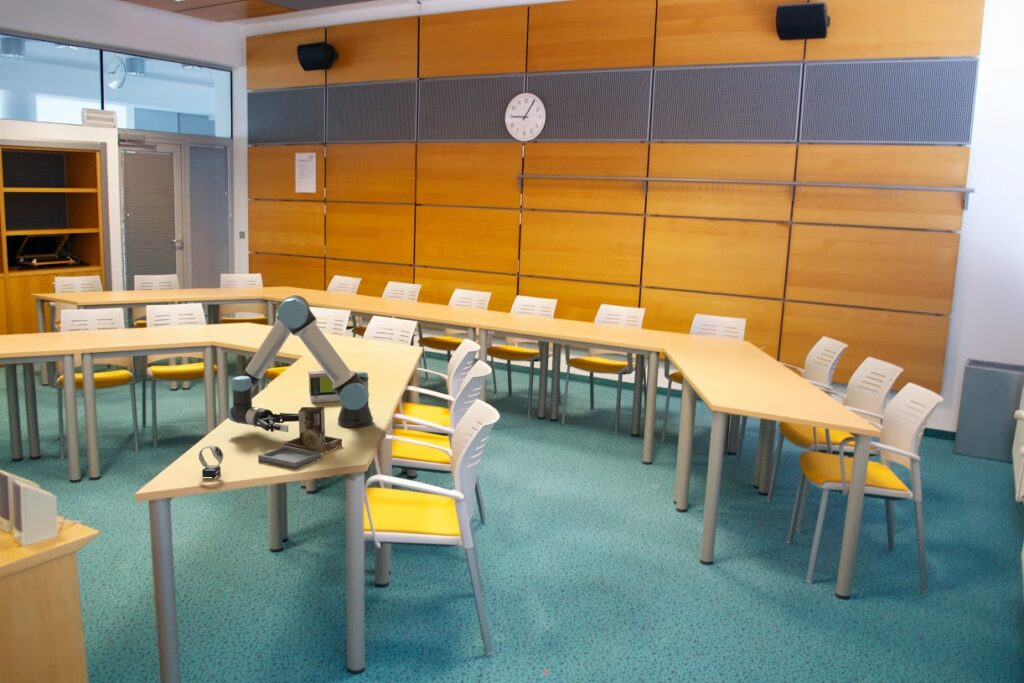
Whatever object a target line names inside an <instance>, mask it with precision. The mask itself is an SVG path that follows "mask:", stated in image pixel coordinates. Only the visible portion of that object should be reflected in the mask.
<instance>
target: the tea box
mask: <svg viewBox="0 0 1024 683" xmlns="http://www.w3.org/2000/svg"><path fill="white" fill-rule="evenodd" d="M332 386H333V382H332V381H331V379H330V378H329V377H328V375H327V374H326V373H325V371H324V370H323V369H311V370H310V369H309V370H308V388H309V389H308V390H309V391H308V392H309V394H308V395H309V399H310V402H311V403H313V402H315V403H323V402H324V403H327V402H341V401H340V398H339V396H338V395H337V394H336V392H335V391H334V389H333V388H332Z"/></svg>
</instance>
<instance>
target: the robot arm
mask: <svg viewBox="0 0 1024 683" xmlns="http://www.w3.org/2000/svg"><path fill="white" fill-rule="evenodd" d="M275 319H276V322H275V323H274V324H273V326H272V328H271V330H270V331H269V332H268V334H266V335H267V336H266V337H265V338H264V340H263V341H262V343H261V345H260V346H259V347H258V349H257V351H256V353H255V354H254V356H253V357H252V358H251V360H250V362H249V363H248V365H247V366H246V367H245V370H244V371H243V373H242V374H241V375H240V376H236V377H235V376H234V377H233V378H232V380H231V389H232V390H231V392H232V394H231V395H232V404H231V405H230V406H229V407H228V411H227V413H226V414H227V418H228V419H229V421H231V422H234V423H236V424H242V425H247V426H254V427H255V428H256V427H259V428H262V429H263V430H265V431H266V432H269V431H270V433H274V431H278V432H284V433H288V432H289V425H288V424H284V423H287V422H288V423H290V422H299V414H298V412H297V413H294V412H293V413H292V412H291V413H290V412H289V413H286V412H279V413H278V414H277V413H273V411H272V410H270V409H269V408H268V409H266V408H262V407H257V406H253V398H252V397H253V396H252V395H253V394H252V393H253V392H254V390H255V389H256V387H257V386H258V384H259V382H261V379H262V377H263V376H264V374H265V373H266V371H267V370H268V368H269V367H270V365H271V364H272V362H273V361H274V359H275V358H276V356H277V355H278V353H279V352H280V350H281V349H282V347H283V345H284V344H285V343H286V341H287V340H288V338H289V336H290V335H291V334H292V336H296V337H298V338H299V339H300V340H301V341H302V343H303V345H305V347H306V348H307V349H308V351H309V352H310V354H311V355H312V356H313V358H314V359H315V361H316V362H317V363H318V365H319V366H320V367H321V369H322V370H324V371H325V373H326V374H327V375H328V377H329V378H330V379H331V381H332V382H333V386H332V388H333V389H334V391H335V392H336V394H337V395H338V396H339V398H340V401H339V402H340V403H341V408H340V410H339V414H338V418H337V425H338V424H339V426H340V425H341V427H343V426H344V427H345V428H363V427H368V426H370V425H373V423H374V422H373V421H374V420H373V419H374V418H373V416H372V412H371V408H370V405H369V397H370V393H369V374H368V372H366V371H355V370H350V369H349V367H348V365H347V364H346V363H345V362H344V361H343V359H342V358H341V356H340V355H339V353H338V352H337V351H336V350H335V348H334V347H333V345H332V344H331V343H330V342H329V340H328V339H327V337H326V336H325V334H324V333H323V332H322V330H321V329H320V328H319V327H318V325H317V321H318V320H317V317H316V316H315V314H314V312H313V311H311V309H310V304H309V302H308V301H307V299H306V298H304V297H303V296H300V295H298V294H297V295H290V296H288V297H286V298H285V299H284V300H283V301H282V302H281V303H280V304H279V306H278V310H277V316H276V318H275Z"/></svg>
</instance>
